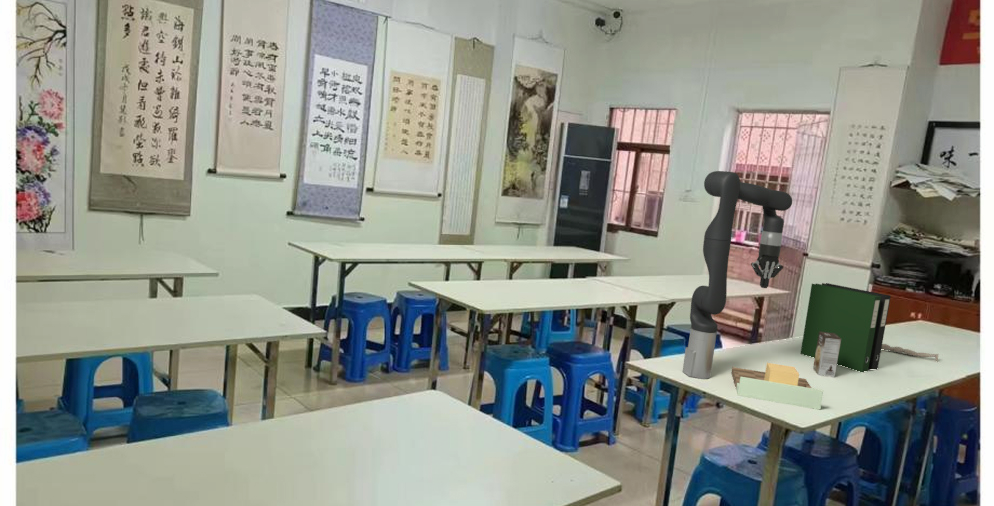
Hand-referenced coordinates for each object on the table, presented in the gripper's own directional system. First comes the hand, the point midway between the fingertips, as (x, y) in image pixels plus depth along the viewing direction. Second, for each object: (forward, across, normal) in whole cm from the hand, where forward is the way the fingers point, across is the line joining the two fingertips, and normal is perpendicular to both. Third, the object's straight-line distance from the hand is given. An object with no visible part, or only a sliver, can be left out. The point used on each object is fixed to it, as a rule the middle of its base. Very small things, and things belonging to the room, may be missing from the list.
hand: (763, 287), depth 256 cm
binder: (+33, +53, +19) cm, 65 cm away
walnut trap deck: (+33, -6, -24) cm, 41 cm away
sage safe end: (+33, -10, -33) cm, 48 cm away
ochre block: (+30, -9, -32) cm, 45 cm away
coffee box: (+33, +32, 0) cm, 46 cm away
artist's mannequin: (+34, +102, +38) cm, 114 cm away
